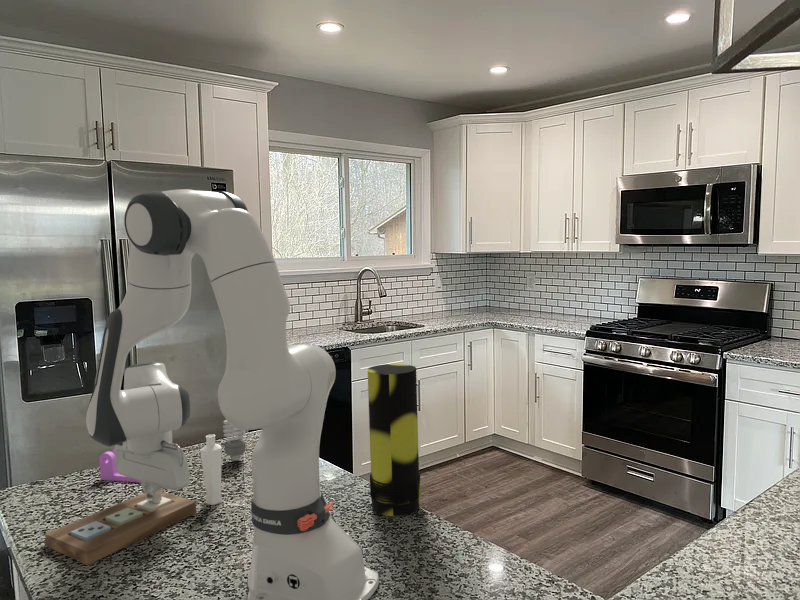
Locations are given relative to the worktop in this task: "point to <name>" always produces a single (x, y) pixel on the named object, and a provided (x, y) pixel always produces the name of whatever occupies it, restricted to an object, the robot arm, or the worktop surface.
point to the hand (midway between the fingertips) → (153, 501)
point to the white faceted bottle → (212, 470)
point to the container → (393, 439)
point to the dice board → (118, 528)
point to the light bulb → (234, 441)
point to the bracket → (111, 468)
